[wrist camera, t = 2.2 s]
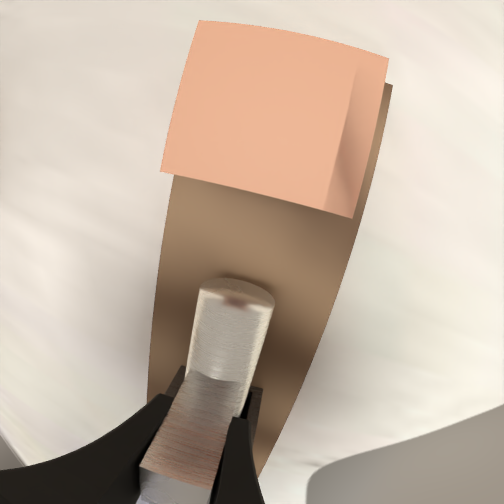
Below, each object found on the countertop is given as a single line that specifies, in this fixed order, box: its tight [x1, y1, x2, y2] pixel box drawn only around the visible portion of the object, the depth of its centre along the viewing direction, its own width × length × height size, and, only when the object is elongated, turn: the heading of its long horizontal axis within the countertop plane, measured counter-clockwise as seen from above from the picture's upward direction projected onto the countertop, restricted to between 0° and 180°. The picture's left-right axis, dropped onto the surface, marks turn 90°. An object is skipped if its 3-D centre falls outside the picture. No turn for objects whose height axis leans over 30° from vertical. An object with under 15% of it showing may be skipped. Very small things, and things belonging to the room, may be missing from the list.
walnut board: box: [147, 83, 393, 478], centre depth 15 cm, size 26×8×1 cm, turn 167°
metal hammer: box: [139, 278, 275, 504], centre depth 11 cm, size 14×3×8 cm, turn 167°
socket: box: [160, 20, 389, 219], centre depth 10 cm, size 4×5×5 cm
